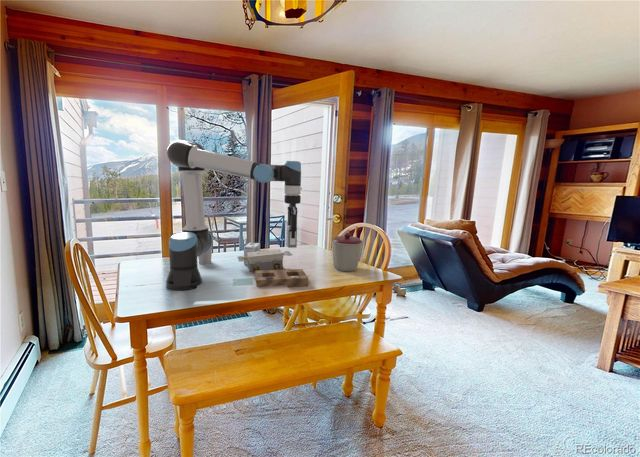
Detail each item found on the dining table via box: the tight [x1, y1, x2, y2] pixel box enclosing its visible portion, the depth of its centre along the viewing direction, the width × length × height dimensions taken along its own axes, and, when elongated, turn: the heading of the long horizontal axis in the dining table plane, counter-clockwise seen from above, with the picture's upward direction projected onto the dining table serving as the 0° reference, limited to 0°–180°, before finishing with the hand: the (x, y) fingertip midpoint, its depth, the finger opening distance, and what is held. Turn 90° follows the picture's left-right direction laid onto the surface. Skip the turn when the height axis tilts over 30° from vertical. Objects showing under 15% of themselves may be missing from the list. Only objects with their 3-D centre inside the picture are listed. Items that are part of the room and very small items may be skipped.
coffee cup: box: [197, 245, 213, 265], centre depth 183 cm, size 10×10×15 cm
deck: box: [232, 277, 254, 287], centre depth 154 cm, size 9×9×1 cm
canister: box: [330, 232, 364, 272], centre depth 183 cm, size 18×18×21 cm
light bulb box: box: [243, 242, 261, 266], centre depth 187 cm, size 11×7×11 cm, turn 175°
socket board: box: [254, 268, 309, 288], centre depth 158 cm, size 24×14×4 cm, turn 104°
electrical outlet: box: [236, 248, 293, 273], centre depth 175 cm, size 12×28×10 cm, turn 110°
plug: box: [286, 224, 298, 249], centre depth 155 cm, size 4×4×10 cm
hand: (291, 243), depth 156 cm, fingers closed on plug, 4 cm apart
